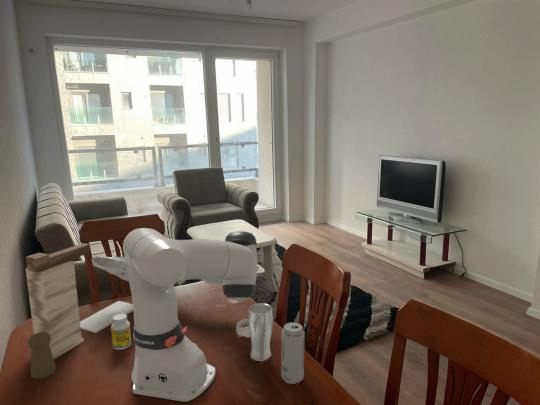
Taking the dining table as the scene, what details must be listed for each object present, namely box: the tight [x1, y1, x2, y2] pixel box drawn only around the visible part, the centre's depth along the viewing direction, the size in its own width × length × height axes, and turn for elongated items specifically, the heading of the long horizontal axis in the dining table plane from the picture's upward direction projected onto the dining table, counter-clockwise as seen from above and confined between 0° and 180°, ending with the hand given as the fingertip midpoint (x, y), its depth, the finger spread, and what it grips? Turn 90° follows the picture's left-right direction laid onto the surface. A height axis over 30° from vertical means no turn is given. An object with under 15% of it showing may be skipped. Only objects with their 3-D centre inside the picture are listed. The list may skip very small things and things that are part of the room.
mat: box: [80, 300, 134, 334], centre depth 135 cm, size 10×20×1 cm, turn 157°
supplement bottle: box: [110, 314, 132, 351], centre depth 116 cm, size 5×5×10 cm
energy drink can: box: [280, 321, 306, 385], centre depth 101 cm, size 6×6×15 cm
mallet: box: [25, 242, 92, 273], centre depth 115 cm, size 4×18×4 cm, turn 157°
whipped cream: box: [235, 318, 250, 339], centre depth 124 cm, size 8×7×5 cm
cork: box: [27, 332, 57, 380], centre depth 104 cm, size 6×6×11 cm
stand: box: [25, 260, 84, 360], centre depth 114 cm, size 9×10×26 cm
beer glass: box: [247, 302, 274, 362], centre depth 111 cm, size 7×7×15 cm
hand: (103, 261), depth 130 cm, fingers open, 8 cm apart
